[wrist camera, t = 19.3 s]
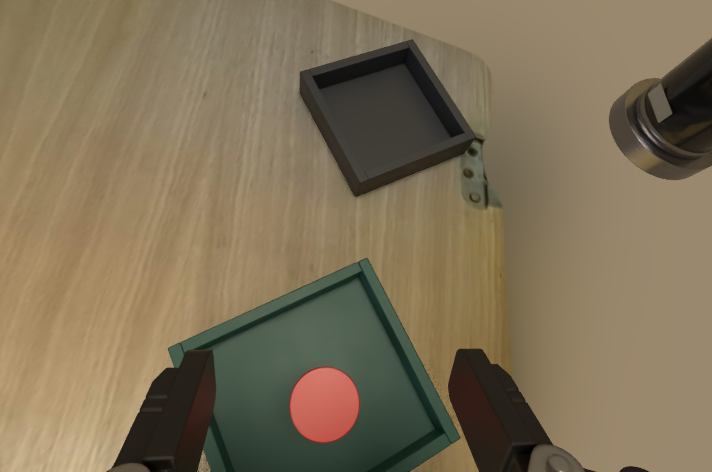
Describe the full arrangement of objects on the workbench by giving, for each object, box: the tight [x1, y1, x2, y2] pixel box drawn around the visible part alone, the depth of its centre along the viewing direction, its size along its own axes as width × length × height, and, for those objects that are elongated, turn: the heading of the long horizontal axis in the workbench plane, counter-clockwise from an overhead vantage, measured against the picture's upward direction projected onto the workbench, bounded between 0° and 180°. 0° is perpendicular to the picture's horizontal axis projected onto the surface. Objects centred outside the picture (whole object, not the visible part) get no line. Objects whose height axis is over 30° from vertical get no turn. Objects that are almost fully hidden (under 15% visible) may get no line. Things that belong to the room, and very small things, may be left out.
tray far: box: [300, 39, 476, 196], centre depth 35 cm, size 12×12×3 cm
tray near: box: [168, 258, 460, 472], centre depth 26 cm, size 15×14×3 cm
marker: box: [289, 367, 360, 443], centre depth 22 cm, size 3×3×10 cm
